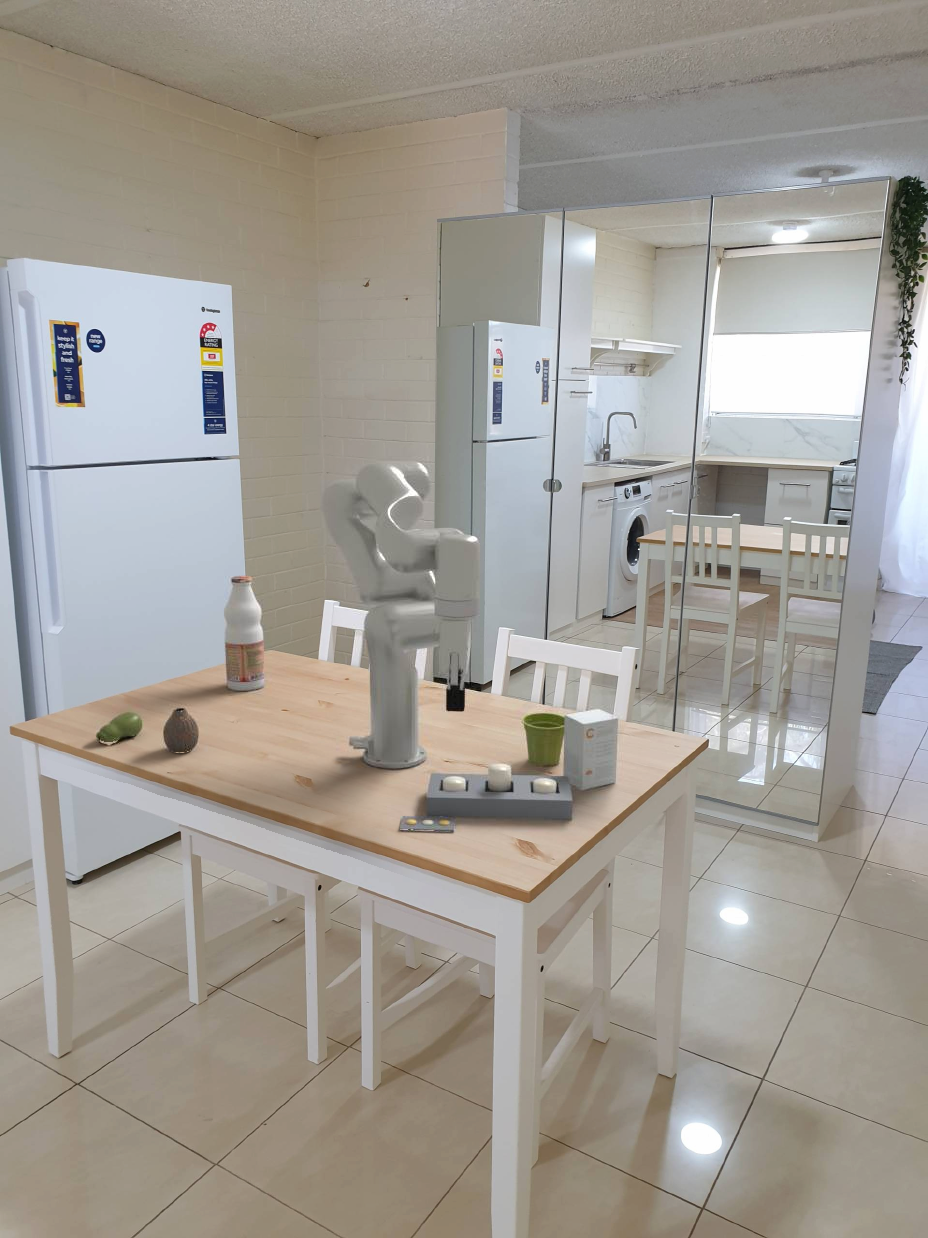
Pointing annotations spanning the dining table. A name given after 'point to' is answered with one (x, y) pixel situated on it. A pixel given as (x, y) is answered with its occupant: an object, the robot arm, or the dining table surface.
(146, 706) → the dining table surface
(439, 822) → the pattern tile
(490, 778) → the button mid
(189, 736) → the vase
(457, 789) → the button left
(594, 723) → the small box
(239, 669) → the fruit juice
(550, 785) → the button right
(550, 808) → the board
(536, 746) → the plant pot
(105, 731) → the pear
